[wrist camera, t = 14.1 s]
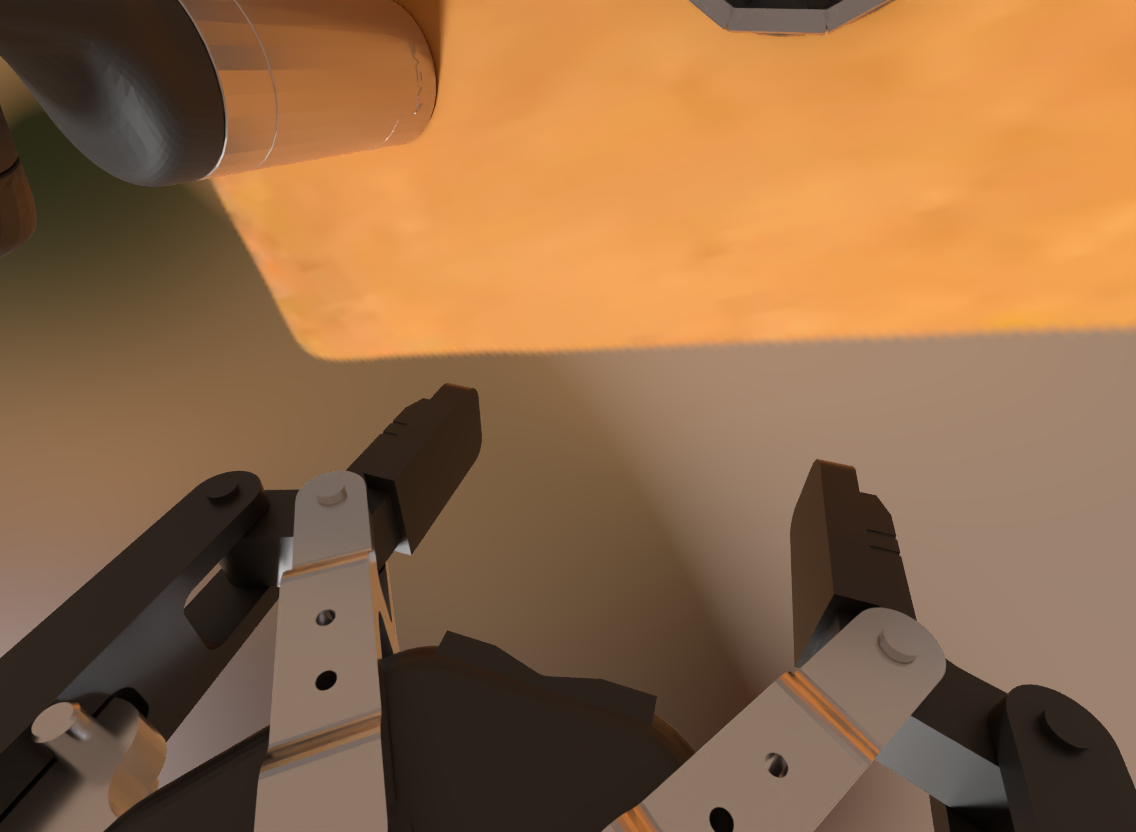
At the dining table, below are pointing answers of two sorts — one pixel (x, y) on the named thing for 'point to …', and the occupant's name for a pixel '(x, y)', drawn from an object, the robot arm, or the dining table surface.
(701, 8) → the carrier
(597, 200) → the dining table surface
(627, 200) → the dining table surface
